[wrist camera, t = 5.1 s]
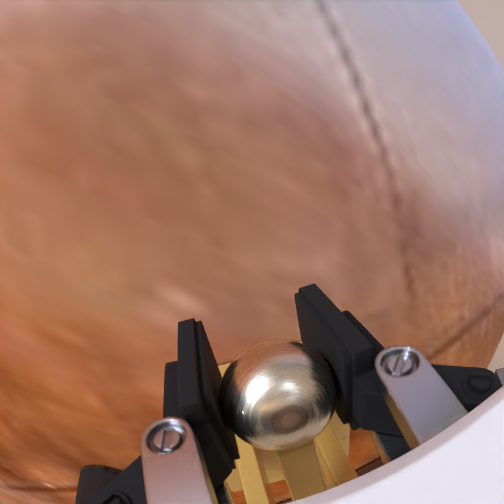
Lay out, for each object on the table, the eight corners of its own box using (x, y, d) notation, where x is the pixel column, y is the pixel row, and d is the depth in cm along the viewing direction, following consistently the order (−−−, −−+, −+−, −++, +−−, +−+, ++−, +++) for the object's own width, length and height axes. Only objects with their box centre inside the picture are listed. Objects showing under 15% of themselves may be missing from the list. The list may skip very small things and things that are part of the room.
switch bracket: (168, 376, 14) (184, 615, 3) (339, 326, 15) (487, 506, 4) (230, 480, 18) (263, 610, 7) (343, 445, 19) (408, 561, 8)
